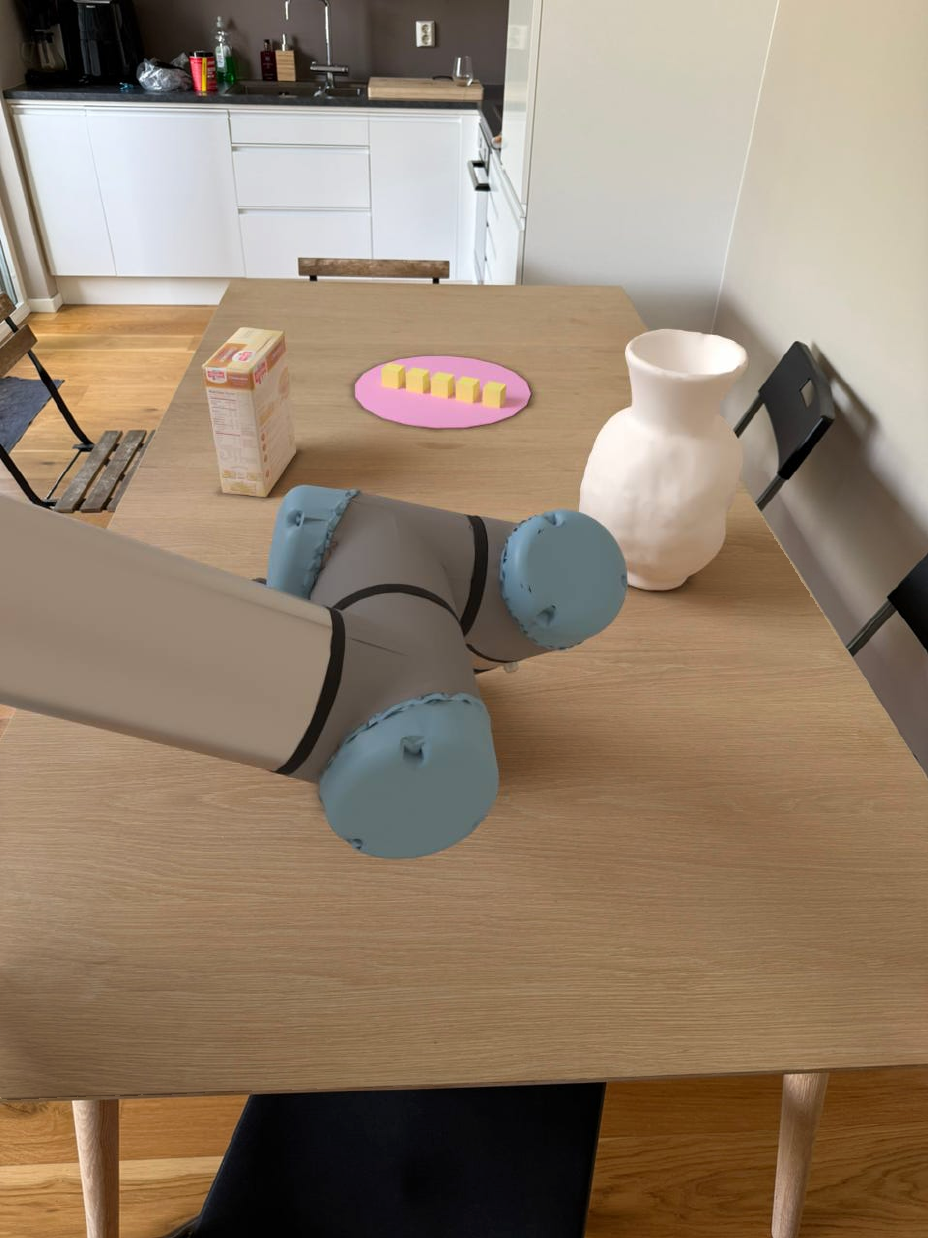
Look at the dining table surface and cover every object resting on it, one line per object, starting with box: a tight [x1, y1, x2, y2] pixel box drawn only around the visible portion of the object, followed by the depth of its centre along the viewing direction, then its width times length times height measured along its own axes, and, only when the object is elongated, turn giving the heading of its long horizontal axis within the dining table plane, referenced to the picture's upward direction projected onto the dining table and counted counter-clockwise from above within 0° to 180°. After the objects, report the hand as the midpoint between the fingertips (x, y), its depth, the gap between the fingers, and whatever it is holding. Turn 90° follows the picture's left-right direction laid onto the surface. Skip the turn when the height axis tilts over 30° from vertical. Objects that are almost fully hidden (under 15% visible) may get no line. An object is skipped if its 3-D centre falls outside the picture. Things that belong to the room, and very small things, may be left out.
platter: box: [354, 355, 532, 429], centre depth 161 cm, size 32×32×3 cm
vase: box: [578, 328, 749, 591], centre depth 108 cm, size 19×21×30 cm
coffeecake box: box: [201, 326, 297, 498], centre depth 129 cm, size 15×7×20 cm, turn 171°
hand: (394, 657), depth 82 cm, fingers open, 13 cm apart
